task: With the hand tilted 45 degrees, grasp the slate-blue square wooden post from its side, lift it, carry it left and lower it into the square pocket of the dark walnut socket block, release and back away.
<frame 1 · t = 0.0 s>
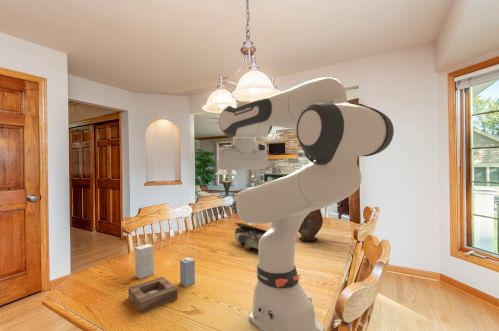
hand: (242, 181, 97), 39 cm above the table, tool pointing down, fingers open, 8 cm apart
brown vase: (305, 240, 146), on the table
skincare box: (144, 275, 102), on the table
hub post: (187, 283, 95), on the table
hollow geode rock: (254, 247, 136), on the table
socket block: (152, 298, 85), on the table
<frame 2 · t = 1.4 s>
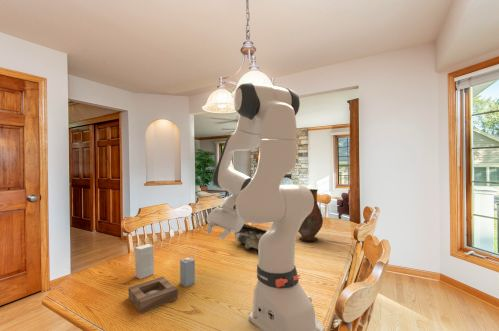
hand: (213, 235, 103), 16 cm above the table, tool tilted 45°, fingers open, 8 cm apart
nothing on the table moved.
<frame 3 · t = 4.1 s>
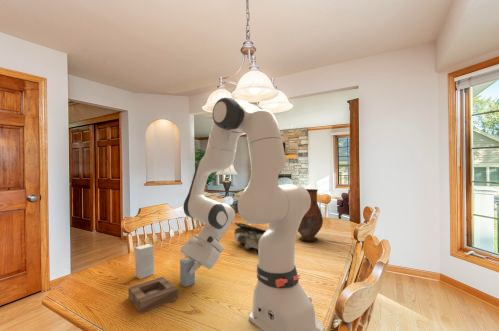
hand: (185, 271, 95), 5 cm above the table, tool tilted 45°, fingers closed on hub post, 4 cm apart
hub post: (187, 283, 95), on the table, touching gripper
everything else where it was.
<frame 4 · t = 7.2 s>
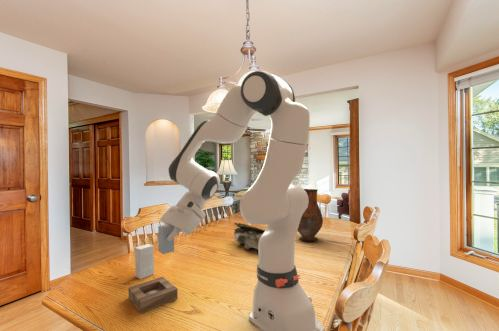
hand: (164, 238, 88), 19 cm above the table, tool tilted 45°, fingers closed on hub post, 4 cm apart
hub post: (166, 251, 89), point 15 cm above the table, touching gripper
everything else where it was.
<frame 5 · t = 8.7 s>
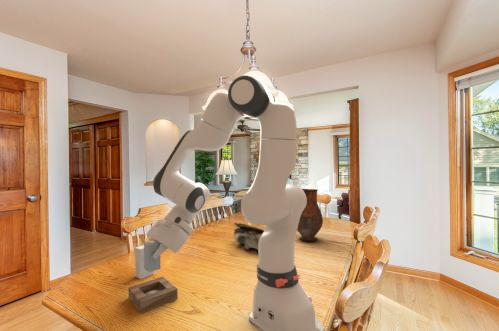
hand: (150, 255, 84), 15 cm above the table, tool tilted 45°, fingers closed on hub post, 4 cm apart
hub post: (152, 268, 85), point 10 cm above the table, touching gripper
everything else where it was.
when the fingers open (7 cm above the table, at t = 10.3 s): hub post drops 1 cm, resting on socket block.
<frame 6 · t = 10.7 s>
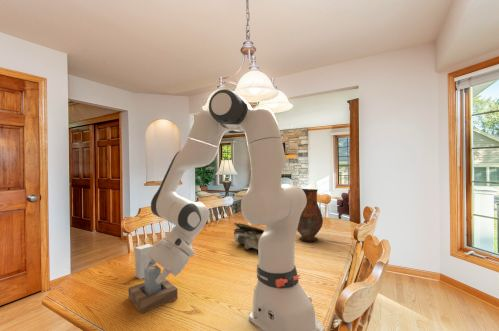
hand: (150, 277, 84), 7 cm above the table, tool tilted 45°, fingers open, 8 cm apart
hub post: (152, 294, 85), point 1 cm above the table, touching socket block
everything else where it was.
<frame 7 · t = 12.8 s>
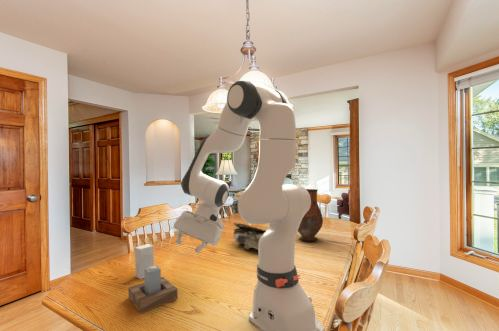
hand: (186, 247, 95), 13 cm above the table, tool tilted 40°, fingers open, 8 cm apart
nothing on the table moved.
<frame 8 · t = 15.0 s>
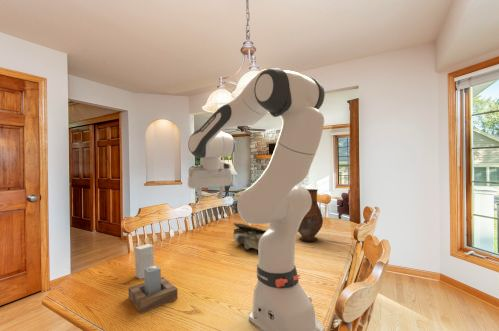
hand: (210, 197, 106), 31 cm above the table, tool pointing down, fingers open, 8 cm apart
nothing on the table moved.
at the end: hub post 0.0 cm off-centre on the socket block, point 1.2 cm above the socket block's base; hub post tilted 0°; the gripper is holding nothing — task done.
